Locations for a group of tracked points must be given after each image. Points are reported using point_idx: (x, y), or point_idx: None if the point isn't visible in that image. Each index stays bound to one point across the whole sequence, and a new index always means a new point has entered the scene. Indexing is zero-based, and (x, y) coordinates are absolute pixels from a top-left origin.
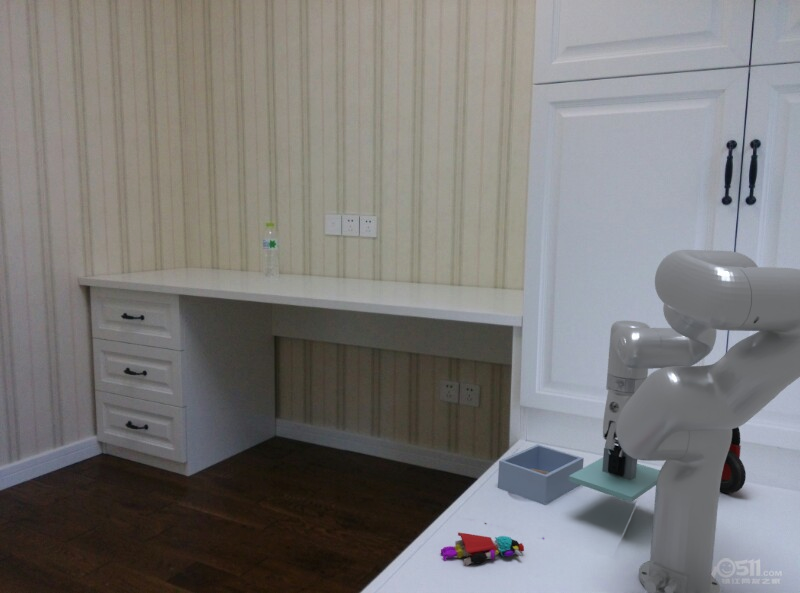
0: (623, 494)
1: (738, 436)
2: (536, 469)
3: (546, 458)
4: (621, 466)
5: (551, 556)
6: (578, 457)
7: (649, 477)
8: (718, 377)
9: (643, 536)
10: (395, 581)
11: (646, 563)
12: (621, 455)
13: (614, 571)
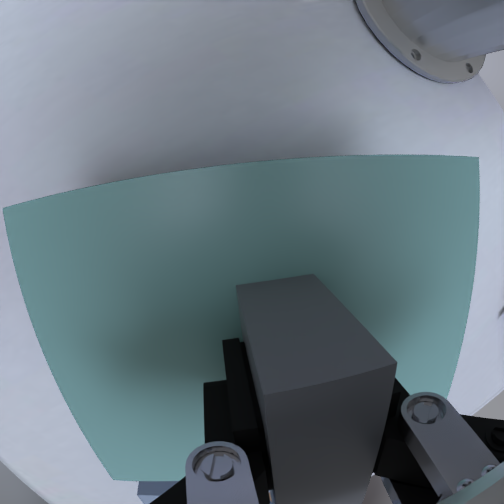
0: (478, 198)
1: None
2: (271, 501)
3: None
4: None
5: (498, 247)
6: (149, 501)
7: (160, 227)
8: None
9: (280, 150)
10: None
11: (440, 73)
12: (442, 402)
13: (475, 128)
